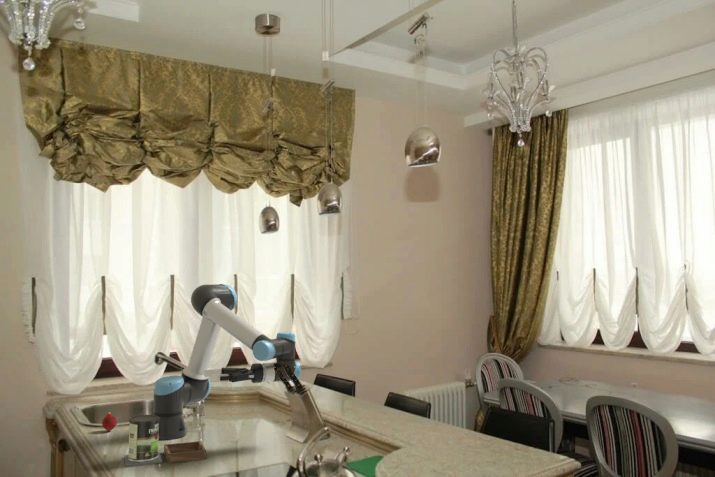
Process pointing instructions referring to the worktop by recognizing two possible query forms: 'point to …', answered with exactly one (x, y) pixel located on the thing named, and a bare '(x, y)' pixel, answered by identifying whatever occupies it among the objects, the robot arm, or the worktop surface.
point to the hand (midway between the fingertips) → (207, 375)
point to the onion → (109, 422)
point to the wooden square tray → (184, 455)
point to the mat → (130, 463)
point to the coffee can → (143, 438)
